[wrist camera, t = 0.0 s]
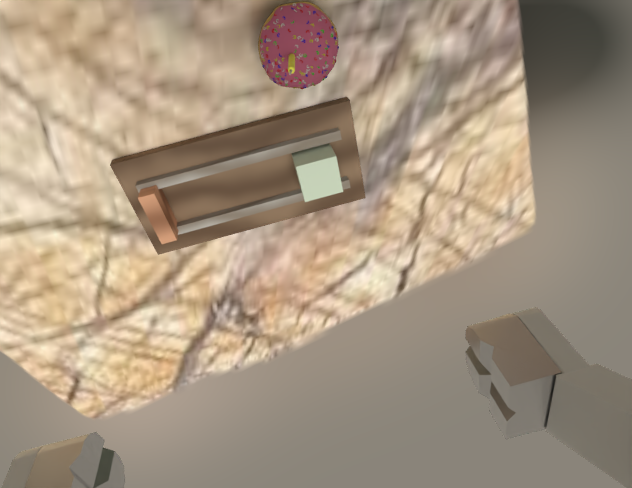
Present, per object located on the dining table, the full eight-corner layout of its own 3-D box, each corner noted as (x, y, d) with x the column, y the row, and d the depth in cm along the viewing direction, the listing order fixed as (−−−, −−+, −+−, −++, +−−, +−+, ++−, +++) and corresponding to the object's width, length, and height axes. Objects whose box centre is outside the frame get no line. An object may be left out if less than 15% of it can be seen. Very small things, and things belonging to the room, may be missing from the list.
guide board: (112, 159, 54) (103, 177, 50) (346, 97, 55) (356, 109, 51) (159, 248, 62) (154, 269, 58) (362, 192, 63) (372, 210, 59)
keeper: (291, 152, 56) (295, 166, 52) (328, 142, 56) (336, 155, 52) (299, 186, 59) (305, 202, 55) (335, 176, 59) (343, 191, 55)
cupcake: (278, 91, 53) (290, 124, 43) (240, 21, 48) (245, 42, 38) (341, 55, 52) (369, 81, 42) (310, -20, 47) (332, -9, 37)
